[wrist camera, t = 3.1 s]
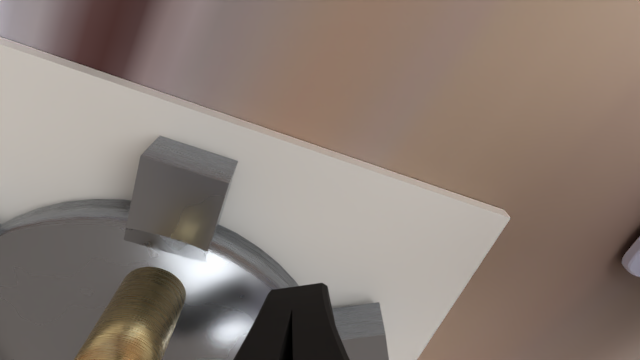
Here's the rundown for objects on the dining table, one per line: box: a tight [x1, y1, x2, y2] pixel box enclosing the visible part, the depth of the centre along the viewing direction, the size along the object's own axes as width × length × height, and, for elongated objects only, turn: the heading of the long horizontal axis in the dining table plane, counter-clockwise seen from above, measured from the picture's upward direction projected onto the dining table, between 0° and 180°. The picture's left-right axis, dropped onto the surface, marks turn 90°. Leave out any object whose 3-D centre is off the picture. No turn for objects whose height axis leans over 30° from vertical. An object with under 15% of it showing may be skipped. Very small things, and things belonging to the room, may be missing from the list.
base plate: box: [0, 37, 510, 360], centre depth 16 cm, size 19×19×1 cm
